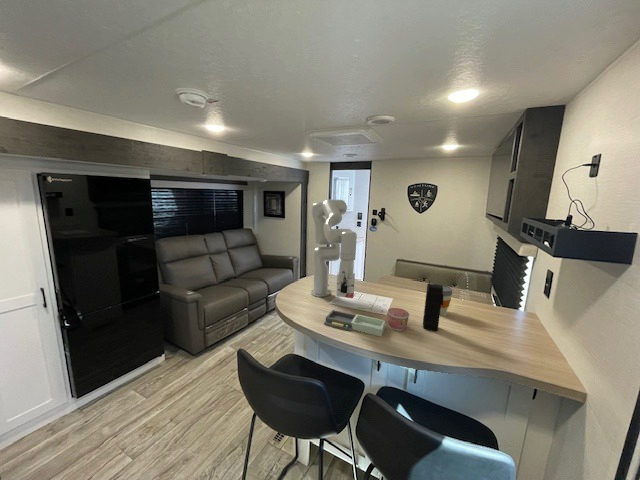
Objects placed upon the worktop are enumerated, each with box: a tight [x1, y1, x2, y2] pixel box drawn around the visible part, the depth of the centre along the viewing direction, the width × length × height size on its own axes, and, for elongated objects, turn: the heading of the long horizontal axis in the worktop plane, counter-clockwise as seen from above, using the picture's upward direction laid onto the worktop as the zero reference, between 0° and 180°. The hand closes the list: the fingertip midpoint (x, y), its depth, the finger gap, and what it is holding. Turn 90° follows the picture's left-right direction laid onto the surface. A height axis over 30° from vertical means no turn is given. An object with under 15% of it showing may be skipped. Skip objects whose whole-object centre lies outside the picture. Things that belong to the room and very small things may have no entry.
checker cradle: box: [323, 309, 356, 332], centre depth 132 cm, size 14×14×3 cm
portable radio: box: [422, 280, 443, 332], centre depth 127 cm, size 8×6×25 cm
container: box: [386, 307, 410, 332], centre depth 128 cm, size 10×10×8 cm
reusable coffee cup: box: [433, 283, 453, 316], centre depth 147 cm, size 12×13×15 cm
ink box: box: [336, 271, 356, 299], centre depth 128 cm, size 9×5×12 cm, turn 77°
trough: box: [351, 314, 386, 337], centre depth 127 cm, size 10×15×4 cm, turn 66°
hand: (345, 290), depth 129 cm, fingers closed on ink box, 5 cm apart
